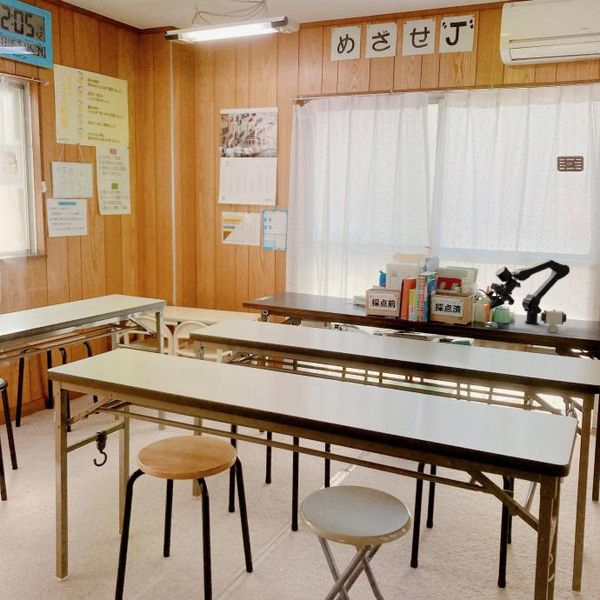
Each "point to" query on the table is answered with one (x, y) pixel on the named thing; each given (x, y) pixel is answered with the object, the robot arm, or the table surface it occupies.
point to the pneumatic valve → (553, 319)
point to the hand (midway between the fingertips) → (489, 308)
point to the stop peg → (500, 325)
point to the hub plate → (491, 327)
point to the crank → (488, 316)
